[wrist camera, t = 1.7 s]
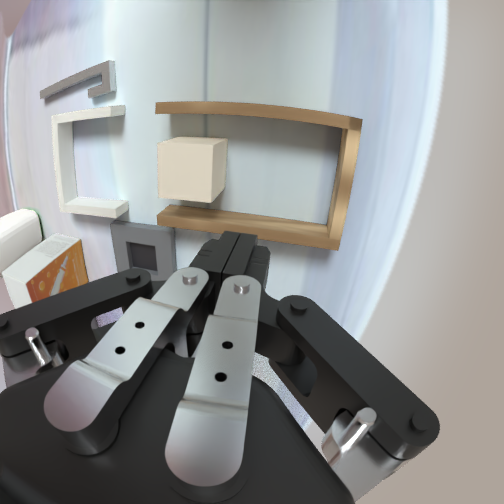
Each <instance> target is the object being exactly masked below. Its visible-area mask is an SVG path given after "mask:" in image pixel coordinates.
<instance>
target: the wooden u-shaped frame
mask: <svg viewBox="0 0 504 504" xmlns="http://www.w3.org/2000/svg"><path fill="white" fill-rule="evenodd" d="M155 114H225V115H243V116H256V117H267V118H277V119H286V120H294V121H302V122H309V123H315V124H322V125H328V126H334V127H339V128H343V129H342V136H341V143H340V150H339V157H338V164H337V170H336V176H335V182H334V188H333V194H332V199H331V205H330V210H329V216H328V221H327V225H323V224H317V223H310V222H303V221H297V220H290V219H283V218H276V217H268V216H261V215H253V214H246V213H238V212H230V211H222V210H213V209H205V208H196V207H187V206H177V205H169V206H167V207H166V208H165V209H164V210H163V211H161V212H160V213H159V214H158V215H157V225H159V226H167V227H175V228H182V229H190V230H197V231H205V232H212V233H219V234H223V232H224V231H232V232H240V233H247V234H254V235H258V239H262V240H269V241H276V242H283V243H290V244H297V245H304V246H311V247H317V248H324V249H331V250H337V251H338V249H339V245H340V240H341V236H342V232H343V227H344V223H345V218H346V213H347V208H348V203H349V198H350V193H351V188H352V183H353V177H354V172H355V166H356V160H357V154H358V147H359V141H360V134H361V127H362V120H363V119H359V118H354V117H349V116H344V115H339V114H333V113H327V112H321V111H315V110H308V109H301V108H293V107H284V106H275V105H264V104H251V103H235V102H157V103H156V110H155Z"/></svg>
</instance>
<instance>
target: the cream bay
mask: <svg viewBox="0 0 504 504" xmlns="http://www.w3.org/2000/svg"><path fill="white" fill-rule="evenodd" d="M119 115H125V105H119V106H109V107H101V108H93V109H86V110H80V111H74V112H68V113H62V114H57V115H52V142H53V157H54V168H55V177H56V186H57V193H58V200H59V207H60V212H67V213H76V214H84V215H93V216H102V217H110V218H117V217H119V216H120V215H122V214H123V213H124V212H126V211H127V210H129V207H128V201H126V200H114V199H101V198H88V197H78V193H77V185H76V175H75V164H74V149H73V122H72V121H77V120H85V119H93V118H102V117H112V116H119Z"/></svg>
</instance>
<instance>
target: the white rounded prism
mask: <svg viewBox="0 0 504 504" xmlns="http://www.w3.org/2000/svg"><path fill="white" fill-rule="evenodd" d="M41 241H42V231H41V226H40V221H39V217H38V215H37V213H36V212H35V211H33V210H27V209H20V210H18V211H15V212H12V213H10V214H7V215H5V216H3V217H1V218H0V279H1V278H3V275H2V272H3V271H4V270H5V269H7V268H8V267H9V266H10V265H12V264H13V263H14V262H16V261H17V260H18V259H19V258H21V257H22V256H23V255H25V254H26V253H27V252H29V251H30V250H31V249H33V248H34V247H35V246H37V245H38V244H39V243H40V242H41Z"/></svg>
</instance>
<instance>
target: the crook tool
mask: <svg viewBox="0 0 504 504" xmlns="http://www.w3.org/2000/svg"><path fill="white" fill-rule="evenodd" d="M99 75H102V84H101V85H98V86H96V87H93V88H90V89H88V98H95V97H98V96H101V95H104V94H107V93H111V92H114V91H116V78H115V61H110V60H109V61H106V62H103V63H101V64H98V65H96V66H93V67H91V68H88V69H86V70H83V71H81V72H79V73H76V74H74V75H72V76H70V77H68V78H66V79H63V80H61V81H59V82H57V83H55V84H53V85H51V86H49V87H47V88H45V89H44V90H42V91H40V99H44V98H48V97H50V96H52V95H54V94H56V93H58V92H60V91H62V90H65V89H67V88H69V87H71V86H74V85H76V84H79V83H81V82H83V81H86V80H88V79H91V78H94V77H96V76H99Z"/></svg>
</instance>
